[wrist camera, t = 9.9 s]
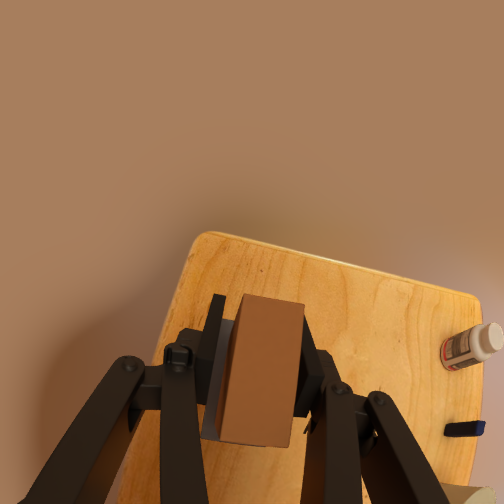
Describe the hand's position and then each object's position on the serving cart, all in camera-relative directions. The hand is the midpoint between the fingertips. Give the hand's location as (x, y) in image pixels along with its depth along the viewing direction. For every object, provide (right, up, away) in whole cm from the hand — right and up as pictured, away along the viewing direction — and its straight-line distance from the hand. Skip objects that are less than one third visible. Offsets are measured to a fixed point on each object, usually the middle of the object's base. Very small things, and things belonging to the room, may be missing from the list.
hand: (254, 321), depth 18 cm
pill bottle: (+30, -11, +18) cm, 37 cm away
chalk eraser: (-1, -5, +1) cm, 5 cm away
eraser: (+28, -22, +12) cm, 38 cm away
